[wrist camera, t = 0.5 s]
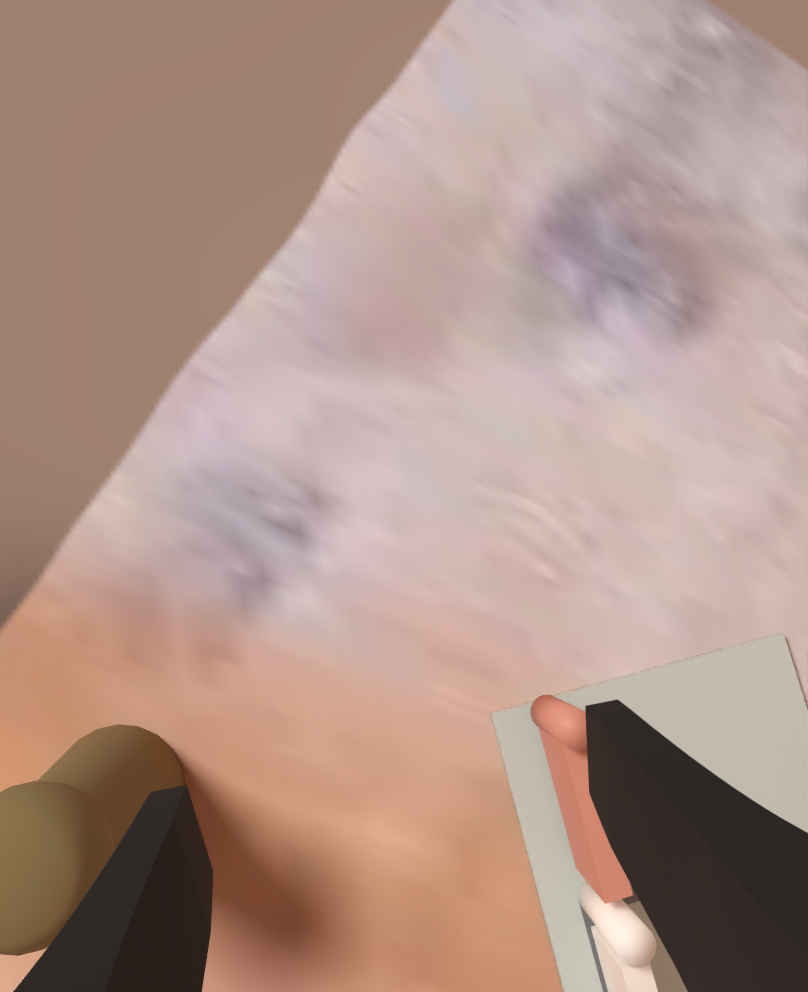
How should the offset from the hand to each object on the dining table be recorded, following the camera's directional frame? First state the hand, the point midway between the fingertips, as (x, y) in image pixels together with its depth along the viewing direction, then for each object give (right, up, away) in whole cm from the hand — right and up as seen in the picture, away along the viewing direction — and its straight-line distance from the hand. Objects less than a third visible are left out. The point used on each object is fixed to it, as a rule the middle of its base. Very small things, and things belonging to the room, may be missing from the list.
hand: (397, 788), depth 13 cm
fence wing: (+8, -8, +21) cm, 24 cm away
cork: (-13, -8, +21) cm, 26 cm away
